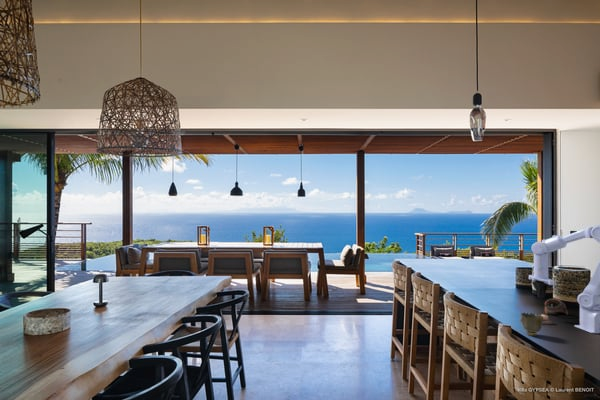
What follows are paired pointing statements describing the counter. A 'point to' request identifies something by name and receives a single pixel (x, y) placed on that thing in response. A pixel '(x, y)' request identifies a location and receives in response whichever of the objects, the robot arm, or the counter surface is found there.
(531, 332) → the cup
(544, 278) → the robot arm
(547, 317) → the terracotta button
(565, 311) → the pottery mug
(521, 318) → the button panel
